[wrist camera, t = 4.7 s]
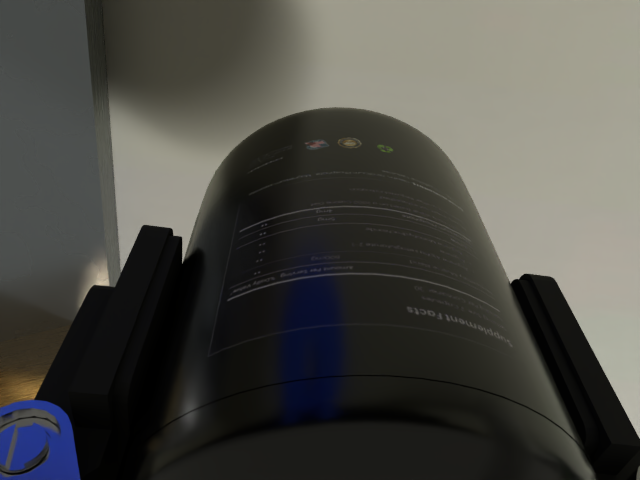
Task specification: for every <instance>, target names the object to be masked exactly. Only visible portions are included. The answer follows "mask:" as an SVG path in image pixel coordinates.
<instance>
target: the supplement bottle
mask: <svg viewBox="0 0 640 480" xmlns="http://www.w3.org/2000/svg"><path fill="white" fill-rule="evenodd" d="M116 480H598V479H597V476H596V474H595V471H594V469H593V466H592V463H591V461H590V458H589V456H588V454H587V452H586V449H585V447H584V445H583V443H582V440H581V438H580V436H579V434H578V432H577V429H576V427H575V425H574V423H573V421H572V418H571V416H570V414H569V412H568V409H567V407H566V405H565V403H564V401H563V398H562V396H561V394H560V392H559V390H558V387H557V385H556V383H555V381H554V379H553V376H552V374H551V372H550V370H549V367H548V365H547V363H546V361H545V359H544V356H543V354H542V352H541V350H540V348H539V345H538V343H537V341H536V339H535V337H534V334H533V332H532V330H531V328H530V326H529V323H528V321H527V319H526V317H525V314H524V312H523V310H522V308H521V306H520V303H519V301H518V299H517V297H516V295H515V292H514V290H513V288H512V286H511V284H510V281H509V279H508V277H507V275H506V273H505V270H504V268H503V266H502V264H501V261H500V259H499V257H498V255H497V253H496V250H495V248H494V246H493V244H492V242H491V239H490V237H489V235H488V233H487V231H486V228H485V226H484V224H483V222H482V220H481V217H480V215H479V213H478V211H477V209H476V206H475V204H474V202H473V200H472V198H471V196H470V194H469V192H468V190H467V188H466V186H465V184H464V182H463V180H462V178H461V176H460V174H459V172H458V171H457V169H456V168H455V166H454V165H453V163H452V162H451V160H450V159H449V157H448V156H447V155H446V154H445V153H444V152H443V151H442V149H441V148H440V147H439V146H438V145H437V144H435V143H434V142H433V141H432V140H431V139H430V138H428V137H427V136H426V135H424V134H423V133H422V132H420V131H419V130H417V129H415V128H413V127H412V126H410V125H408V124H406V123H405V122H402V121H400V120H398V119H395V118H393V117H390V116H387V115H384V114H381V113H378V112H373V111H369V110H364V109H356V108H338V107H334V108H320V109H314V110H307V111H303V112H299V113H295V114H292V115H289V116H286V117H283V118H281V119H278V120H276V121H274V122H272V123H270V124H267V125H265V126H264V127H262V128H260V129H259V130H257V131H255V132H254V133H252V134H251V135H250V136H248V137H247V138H246V139H245V140H243V141H242V142H241V143H240V144H239V145H237V146H236V147H235V148H234V149H233V150H232V151H231V152H230V153H229V155H228V156H227V157H226V158H225V159H224V160H223V162H222V163H221V165H220V166H219V168H218V169H217V170H216V172H215V174H214V176H213V178H212V180H211V182H210V184H209V186H208V188H207V191H206V193H205V196H204V199H203V201H202V204H201V207H200V210H199V213H198V216H197V219H196V222H195V225H194V228H193V231H192V235H191V238H190V241H189V244H188V247H187V251H186V254H185V257H184V260H183V264H182V267H181V270H180V273H179V276H178V280H177V283H176V286H175V289H174V293H173V296H172V299H171V302H170V305H169V309H168V312H167V315H166V318H165V322H164V325H163V328H162V331H161V334H160V338H159V341H158V344H157V347H156V350H155V354H154V357H153V360H152V363H151V367H150V370H149V373H148V376H147V379H146V383H145V386H144V389H143V392H142V396H141V399H140V402H139V405H138V408H137V412H136V415H135V418H134V421H133V424H132V428H131V431H130V434H129V437H128V441H127V444H126V447H125V450H124V454H123V457H122V460H121V463H120V466H119V470H118V473H117V476H116Z"/></svg>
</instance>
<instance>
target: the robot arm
mask: <svg viewBox="0 0 640 480" xmlns="http://www.w3.org/2000/svg"><path fill="white" fill-rule="evenodd" d="M181 267H182V237H179V236H173V230H172V229H171V228H165V227H157V226H149V225H143V226H142V228H141V230H140V232H139V234H138V237H137V239H136V241H135V243H134V246H133V248H132V250H131V252H130V254H129V257H128V259H127V261H126V263H125V266H124V268H123V270H122V272H121V274H120V277H119V279H118V281H117V283H116V286H115V287H111V286H102V285H93V286H92V287H91V288H90V290H89V291H88V293H87V295H86V297H85V299H84V301H83V303H82V305H81V307H80V309H79V311H78V313H77V315H76V317H75V319H74V321H73V323H72V325H71V327H70V329H69V331H68V333H67V335H66V337H65V339H64V341H63V343H62V345H61V347H60V349H59V351H58V353H57V355H56V357H55V359H54V361H53V363H52V365H51V367H50V368H49V370H48V372H47V374H46V376H45V378H44V380H43V382H42V384H41V386H40V388H39V390H38V392H37V394H36V396H35V398H34V400H27V401H20V402H15V403H12V404H9V405H7V406H4V407H1V408H0V480H116V476H117V473H118V470H119V466H120V463H121V460H122V457H123V454H124V450H125V447H126V444H127V441H128V437H129V434H130V431H131V428H132V424H133V421H134V418H135V415H136V412H137V408H138V405H139V402H140V399H141V396H142V392H143V389H144V386H145V383H146V379H147V376H148V373H149V370H150V367H151V363H152V360H153V357H154V354H155V350H156V347H157V344H158V341H159V338H160V334H161V331H162V328H163V325H164V322H165V318H166V315H167V312H168V309H169V305H170V302H171V299H172V296H173V293H174V289H175V286H176V283H177V280H178V276H179V273H180V270H181ZM511 286H512V288H513V290H514V292H515V295H516V297H517V299H518V301H519V303H520V306H521V308H522V310H523V312H524V314H525V317H526V319H527V321H528V323H529V326H530V328H531V330H532V332H533V334H534V337H535V339H536V341H537V343H538V345H539V348H540V350H541V352H542V354H543V356H544V359H545V361H546V363H547V365H548V367H549V370H550V372H551V374H552V376H553V379H554V381H555V383H556V385H557V387H558V390H559V392H560V394H561V396H562V398H563V401H564V403H565V405H566V407H567V409H568V412H569V414H570V416H571V418H572V421H573V423H574V425H575V427H576V429H577V432H578V434H579V436H580V438H581V440H582V443H583V445H584V447H585V449H586V452H587V454H588V456H589V458H590V461H591V463H592V466H593V469H594V471H595V474H596V476H597V479H598V480H640V439H639V437H638V435H637V433H636V431H635V429H634V428H633V426H632V424H631V422H630V420H629V418H628V416H627V414H626V412H625V411H624V409H623V407H622V405H621V403H620V401H619V399H618V397H617V396H616V394H615V392H614V390H613V388H612V386H611V384H610V382H609V380H608V379H607V377H606V375H605V373H604V371H603V369H602V367H601V365H600V363H599V362H598V360H597V358H596V356H595V354H594V352H593V350H592V348H591V347H590V345H589V343H588V341H587V339H586V337H585V335H584V333H583V331H582V330H581V328H580V326H579V324H578V322H577V320H576V318H575V316H574V315H573V313H572V311H571V309H570V307H569V305H568V303H567V301H566V299H565V298H564V296H563V294H562V292H561V290H560V288H559V286H558V284H557V282H556V281H555V280H554V278H552V277H548V276H541V275H533V274H524V275H522V276H521V277H520V279H515V280H513V281H512V283H511Z"/></svg>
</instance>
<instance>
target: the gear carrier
mask: <svg viewBox="0 0 640 480" xmlns="http://www.w3.org/2000/svg"><path fill="white" fill-rule="evenodd" d="M120 274H121V272H120V258H119V243H118V229H117V215H116V200H115V186H114V172H113V158H112V143H111V129H110V115H109V100H108V86H107V72H106V57H105V43H104V29H103V14H102V0H0V408H1V407H4V406H7V405H9V404H12V403H15V402H20V401H27V400H34V398H35V396H36V394H37V392H38V390H39V388H40V386H41V384H42V382H43V380H44V378H45V376H46V374H47V372H48V370H49V368H50V367H51V365H52V363H53V361H54V359H55V357H56V355H57V353H58V351H59V349H60V347H61V345H62V343H63V341H64V339H65V337H66V335H67V333H68V331H69V329H70V327H71V325H72V323H73V321H74V319H75V317H76V315H77V313H78V311H79V309H80V307H81V305H82V303H83V301H84V299H85V297H86V295H87V293H88V291H89V290H90V288H91V287H92V286H93V285H102V286H111V287H115V286H116V283H117V281H118V279H119V277H120Z"/></svg>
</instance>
